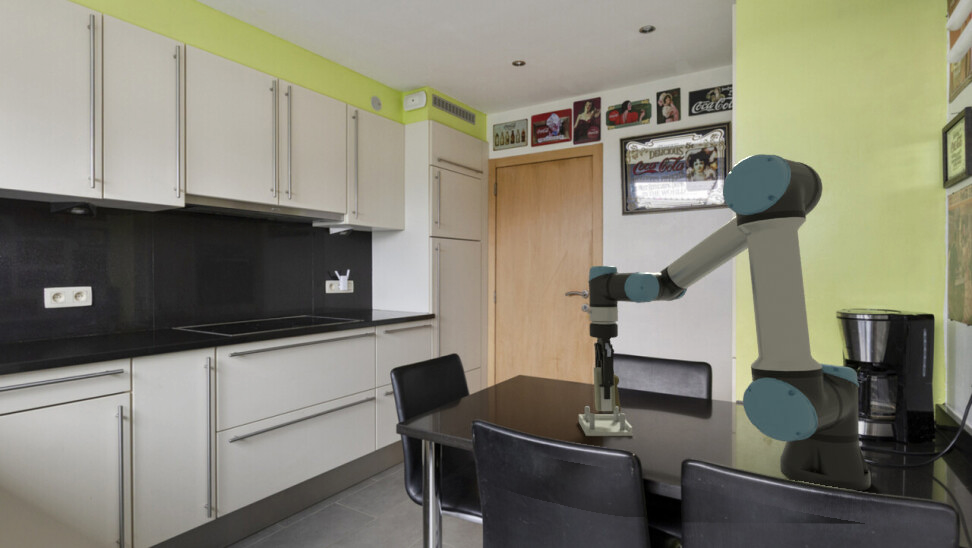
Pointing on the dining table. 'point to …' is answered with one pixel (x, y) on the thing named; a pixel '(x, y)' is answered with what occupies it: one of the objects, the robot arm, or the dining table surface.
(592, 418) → the tray
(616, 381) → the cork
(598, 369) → the box
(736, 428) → the dining table surface
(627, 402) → the dining table surface
